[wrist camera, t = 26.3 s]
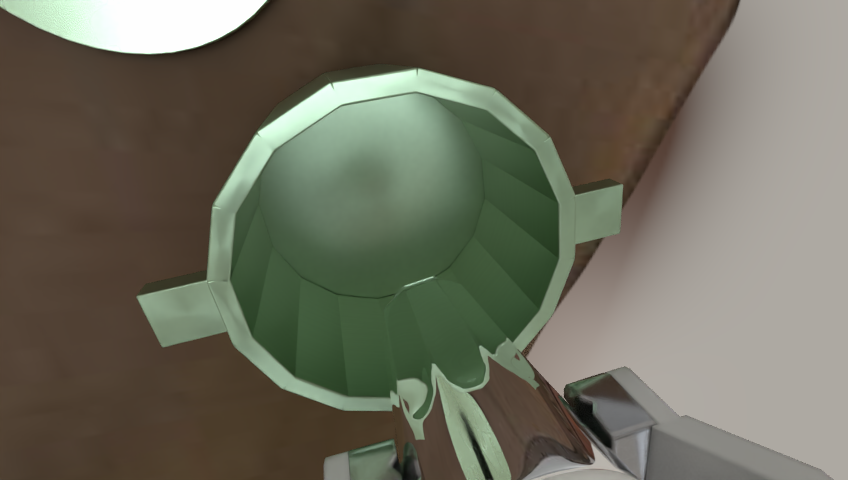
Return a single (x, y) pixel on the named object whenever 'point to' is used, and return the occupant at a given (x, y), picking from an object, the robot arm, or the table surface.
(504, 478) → the milkshake
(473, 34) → the table surface
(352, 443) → the table surface
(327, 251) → the pot
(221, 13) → the lid
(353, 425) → the table surface
